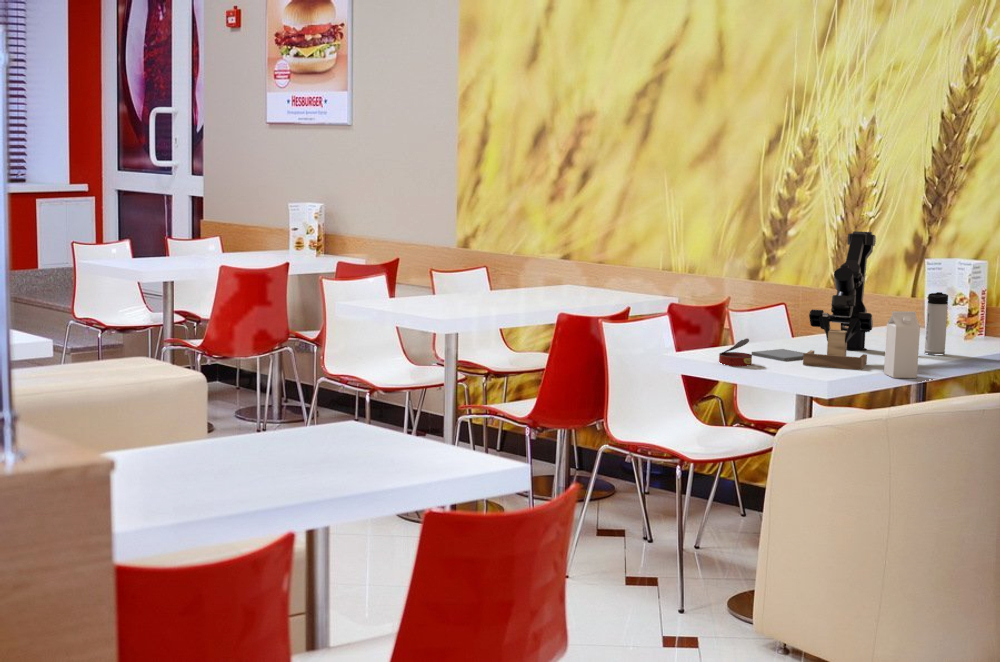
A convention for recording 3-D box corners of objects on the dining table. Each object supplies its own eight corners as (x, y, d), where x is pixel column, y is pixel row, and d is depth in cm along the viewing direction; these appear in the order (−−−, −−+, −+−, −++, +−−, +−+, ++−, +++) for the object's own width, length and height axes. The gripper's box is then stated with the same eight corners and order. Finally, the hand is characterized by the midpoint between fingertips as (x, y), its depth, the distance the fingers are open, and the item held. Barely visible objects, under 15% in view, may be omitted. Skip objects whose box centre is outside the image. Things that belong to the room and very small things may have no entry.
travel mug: (945, 353, 420) (949, 292, 417) (943, 356, 414) (947, 294, 411) (925, 352, 422) (929, 291, 420) (923, 354, 416) (927, 293, 414)
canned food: (731, 381, 387) (719, 353, 384) (719, 372, 397) (707, 345, 394) (764, 364, 388) (752, 336, 385) (751, 355, 397) (739, 328, 394)
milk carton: (883, 374, 377) (887, 310, 374) (907, 374, 377) (911, 310, 375) (893, 378, 370) (897, 313, 367) (917, 378, 370) (921, 313, 368)
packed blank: (829, 361, 398) (831, 329, 397) (845, 362, 396) (847, 330, 395) (826, 363, 394) (828, 331, 392) (843, 365, 392) (844, 332, 390)
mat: (782, 351, 417) (782, 348, 417) (815, 357, 405) (815, 354, 405) (751, 355, 409) (751, 351, 409) (783, 361, 398) (784, 358, 398)
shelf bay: (810, 359, 402) (810, 348, 401) (866, 364, 395) (867, 352, 394) (802, 364, 391) (803, 353, 391) (860, 369, 384) (861, 358, 384)
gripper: (811, 283, 399) (803, 322, 390) (873, 287, 391) (866, 327, 383) (815, 306, 407) (806, 345, 399) (875, 309, 400) (868, 349, 391)
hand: (836, 341), depth 393 cm, fingers closed on packed blank, 5 cm apart
